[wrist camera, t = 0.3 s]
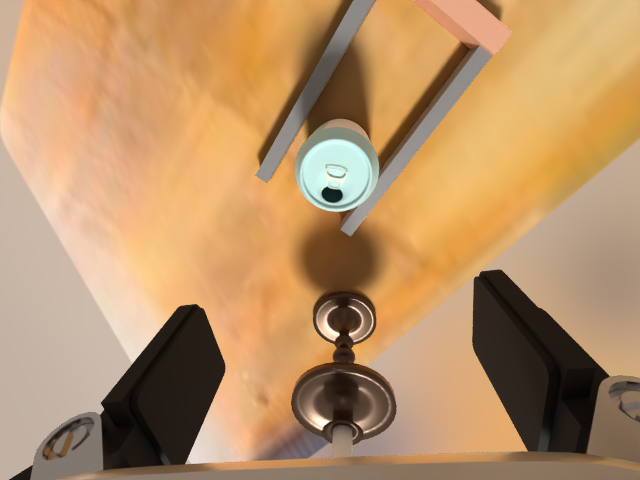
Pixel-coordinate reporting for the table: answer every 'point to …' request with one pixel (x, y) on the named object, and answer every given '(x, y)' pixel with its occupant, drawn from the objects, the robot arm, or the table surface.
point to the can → (337, 166)
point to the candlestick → (344, 379)
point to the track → (483, 41)
